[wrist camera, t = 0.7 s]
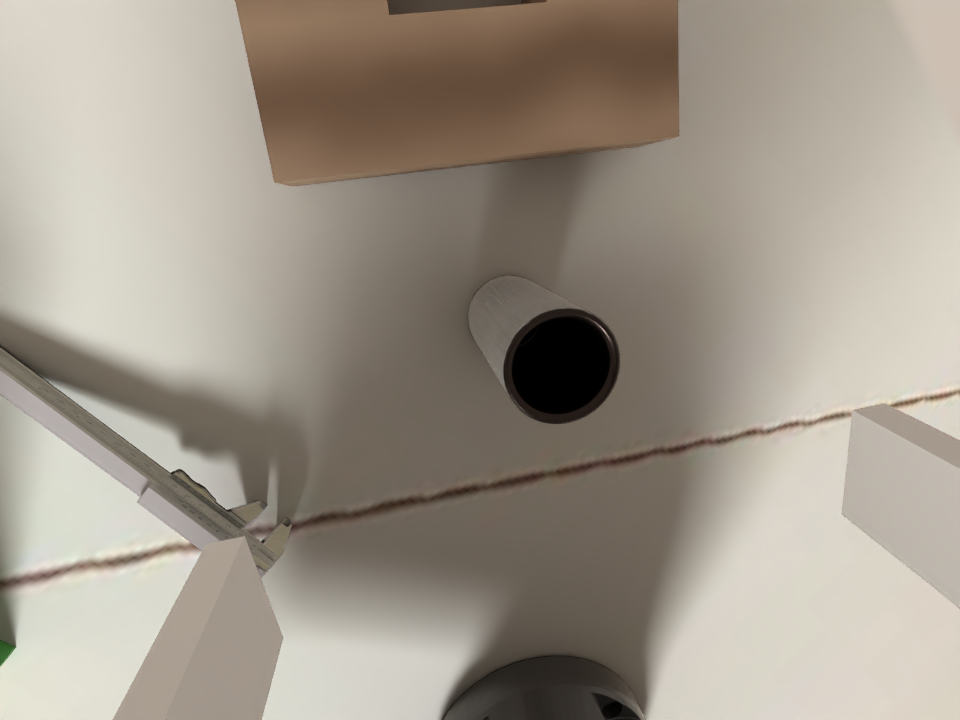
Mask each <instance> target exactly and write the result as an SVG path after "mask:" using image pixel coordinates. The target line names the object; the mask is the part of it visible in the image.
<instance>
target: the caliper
mask: <svg viewBox="0 0 960 720" xmlns="http://www.w3.org/2000/svg"><path fill="white" fill-rule="evenodd" d="M0 395H2V396H3V397H5V398H6V399H7V400H9V401H10V402H11V403H13V404H14V405H15V406H17V407H18V408H20V409H21V410H22V411H24V412H25V413H26V414H28V415H29V416H30V417H32V418H33V419H35V420H36V421H37V422H39V423H40V424H41V425H43V426H44V427H45V428H47V429H48V430H50V431H51V432H52V433H54V434H55V435H56V436H58V437H59V438H60V439H62V440H63V441H65V442H66V443H67V444H69V445H70V446H71V447H73V448H74V449H75V450H77V451H78V452H80V453H81V454H82V455H84V456H85V457H86V458H88V459H89V460H90V461H92V462H93V463H95V464H96V465H97V466H99V467H100V468H101V469H103V470H104V471H105V472H107V473H108V474H110V475H111V476H112V477H114V478H115V479H116V480H118V481H119V482H120V483H122V484H123V485H125V486H126V487H127V488H129V489H130V490H131V491H133V492H134V493H135V494H137V495H138V496H140V498H139V500H138V501H137V503H139V504H140V505H141V506H143V507H144V508H145V509H147V510H148V511H149V512H151V513H152V514H153V515H155V516H156V517H157V518H159V519H160V520H161V521H163V522H164V523H165V524H167V525H168V526H169V527H171V528H172V529H173V530H175V531H176V532H177V533H179V534H180V535H181V536H183V537H184V538H185V539H187V540H188V541H189V542H191V543H192V544H194V545H195V546H196V547H198V548H199V549H200V550H202V551H203V549H204V547H205V545H206V544H210V543H214V542H219V541H224V540H229V539H234V538H238V537H243V536H245V538H246V541H247V544H248V546H249V549H250V552H251V554H252V557H253V560H254V562H255V565H256V567H257V570H258V573H259V575H260V578H261V577H262V576H263V575H264V574H265V573H266V572H267V571H268V570H269V569H270V568H271V567H272V566H273V564H274V563H275V562H276V561H277V560H278V559H279V557H280V556H281V555H282V554H283V551H284V548H285V545H286V542H287V539H288V537H289V534H290V530H291V527H292V524H291V522H290V520H289V519H288V518H287V517H286V518H285V519H284V520H283V521H282V522H281V523H280V524H279V525H278V526H277V527H276V528H275V529H274V530H273V531H272V532H271V533H270V534H269V535H268V536H267V537H266V538H264V539H263V540H262V541H259V540H258V539H257V538H256V537H255V536H253V535H252V534H251V533H249V532H248V531H247V530H246V529H247V528H248V527H249V526H250V525H251V524H252V523H253V522H254V521H255V519H256V518H257V517H258V516H259V515H260V513H261V512H262V511H263V510H264V509H265V507H266V506H267V505H266V504H264V503H262V502H261V501H256V502H253V503H249V504H246V505H242V506H239V507H236V508H232V509H229V510H226V509H225V508H223V507H222V506H221V505H219V504H218V503H216V499H215V498H214V497H213V496H212V495H211V494H210V493H209V491H208V490H207V489H206V488H205V487H204V486H202V485H200V484H198V483H196V482H195V481H193V480H192V479H191V478H190V477H189V476H188V475H187V474H186V473H185V472H184V471H183V470H181V469H178V470H176V471H173V472H171V473H170V472H168V471H167V470H165V469H164V468H163V467H161V466H160V465H159V464H157V463H156V462H155V461H153V460H152V459H151V458H149V457H148V456H147V455H145V454H144V453H143V452H141V451H140V450H139V449H137V448H136V447H135V446H133V445H132V444H130V443H129V442H128V441H126V440H125V439H124V438H122V437H121V436H120V435H118V434H117V433H116V432H114V431H113V430H112V429H110V428H109V427H108V426H106V425H105V424H104V423H102V422H101V421H100V420H98V419H97V418H95V417H94V416H93V415H91V414H90V413H89V412H87V411H86V410H85V409H83V408H82V407H81V406H79V405H78V404H77V403H75V402H74V401H73V400H71V399H70V398H69V397H67V396H66V395H65V394H63V393H62V392H61V391H59V390H58V389H57V388H55V387H54V386H53V385H51V384H50V383H49V382H47V381H46V380H45V379H43V378H42V377H41V376H39V375H38V374H37V373H35V372H34V371H33V370H31V369H30V368H29V367H27V366H26V365H25V364H23V363H22V362H21V361H19V360H18V359H17V358H15V357H14V356H13V355H11V354H10V353H9V352H7V351H6V350H5V349H3V348H2V347H1V346H0Z"/></svg>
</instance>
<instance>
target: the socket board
mask: <svg viewBox="0 0 960 720" xmlns="http://www.w3.org/2000/svg"><path fill="white" fill-rule="evenodd" d="M235 1H236V6H237V11H238V15H239V20H240V25H241V29H242V34H243V39H244V43H245V48H246V53H247V57H248V62H249V67H250V71H251V76H252V80H253V85H254V90H255V94H256V99H257V104H258V108H259V113H260V118H261V122H262V127H263V132H264V136H265V141H266V145H267V150H268V155H269V159H270V164H271V169H272V173H273V178H274V182H276V183H280V184H285V185H289V186H298V185H307V184H315V183H324V182H333V181H341V180H350V179H359V178H368V177H376V176H385V175H394V174H402V173H411V172H420V171H429V170H437V169H446V168H455V167H463V166H472V165H481V164H490V163H498V162H507V161H516V160H524V159H533V158H542V157H551V156H559V155H568V154H577V153H585V152H594V151H603V150H612V149H620V148H629V147H638V146H643V145H647V144H651V143H655V142H659V141H662V140H666V139H670V138H674V137H678V136H679V83H678V0H522V4H518V5H506V6H494V7H482V8H469V9H457V10H445V11H433V12H421V13H408V14H396V15H389V10H388V3H387V0H235Z"/></svg>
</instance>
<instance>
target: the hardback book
mask: <svg viewBox="0 0 960 720" xmlns="http://www.w3.org/2000/svg"><path fill="white" fill-rule="evenodd" d="M15 648H16V647H15V646H12V645H10V644H8V643H6V642H3V641H1V640H0V666H1V665H2V664H3V663H4V662H5V661H6V659H7V658H8V657H9V656H10V654H11V653H12V652H13V650H14V649H15Z"/></svg>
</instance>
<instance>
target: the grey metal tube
mask: <svg viewBox="0 0 960 720" xmlns="http://www.w3.org/2000/svg"><path fill="white" fill-rule="evenodd" d="M468 323H469V328H470V331H471V334H472V336H473V338H474V340H475V342H476V343H477V345H478V347H479V348H480V350H481V352H482V353H483V355H484V356H485V358H486V360H487V361H488V363H489V365H490V366H491V368H492V370H493V371H494V373H495V375H496V376H497V378H498V380H499V381H500V383H501V385H502V386H503V388H504V390H505V391H506V393H507V395H508V396H509V398H510V399H511V401H512V402H513V403H514V405H515V406H516V407H517V408H518V409H519V410H520V411H521V412H522V413H524V414H525V415H527V416H528V417H530V418H532V419H534V420H537V421H539V422H543V423H549V424H564V423H570V422H574V421H577V420H579V419H582V418H584V417H586V416H588V415H589V414H591V413H592V412H594V411H595V410H596V409H598V408H599V407H600V406H601V405H602V404H603V403H604V402H605V400H606V399H607V398H608V396H609V395H610V394H611V392H612V390H613V388H614V386H615V384H616V381H617V378H618V374H619V369H620V353H619V348H618V344H617V341H616V339H615V337H614V335H613V333H612V331H611V330H610V328H609V327H608V326H607V325H606V324H605V323H604V322H603V321H602V320H601V319H600V318H598V317H597V316H595V315H594V314H592V313H590V312H588V311H587V310H585V309H583V308H581V307H579V306H577V305H575V304H573V303H571V302H570V301H568V300H566V299H564V298H562V297H560V296H558V295H556V294H554V293H553V292H551V291H549V290H547V289H545V288H543V287H541V286H539V285H537V284H535V283H534V282H532V281H530V280H528V279H525V278H522V277H518V276H501V277H498V278H495V279H492V280H490V281H489V282H487V283H486V284H484V285H483V286H482V287H481V288H480V289H479V290H478V291H477V292H476V294H475V295H474V297H473V299H472V301H471V304H470V307H469V312H468Z"/></svg>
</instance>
